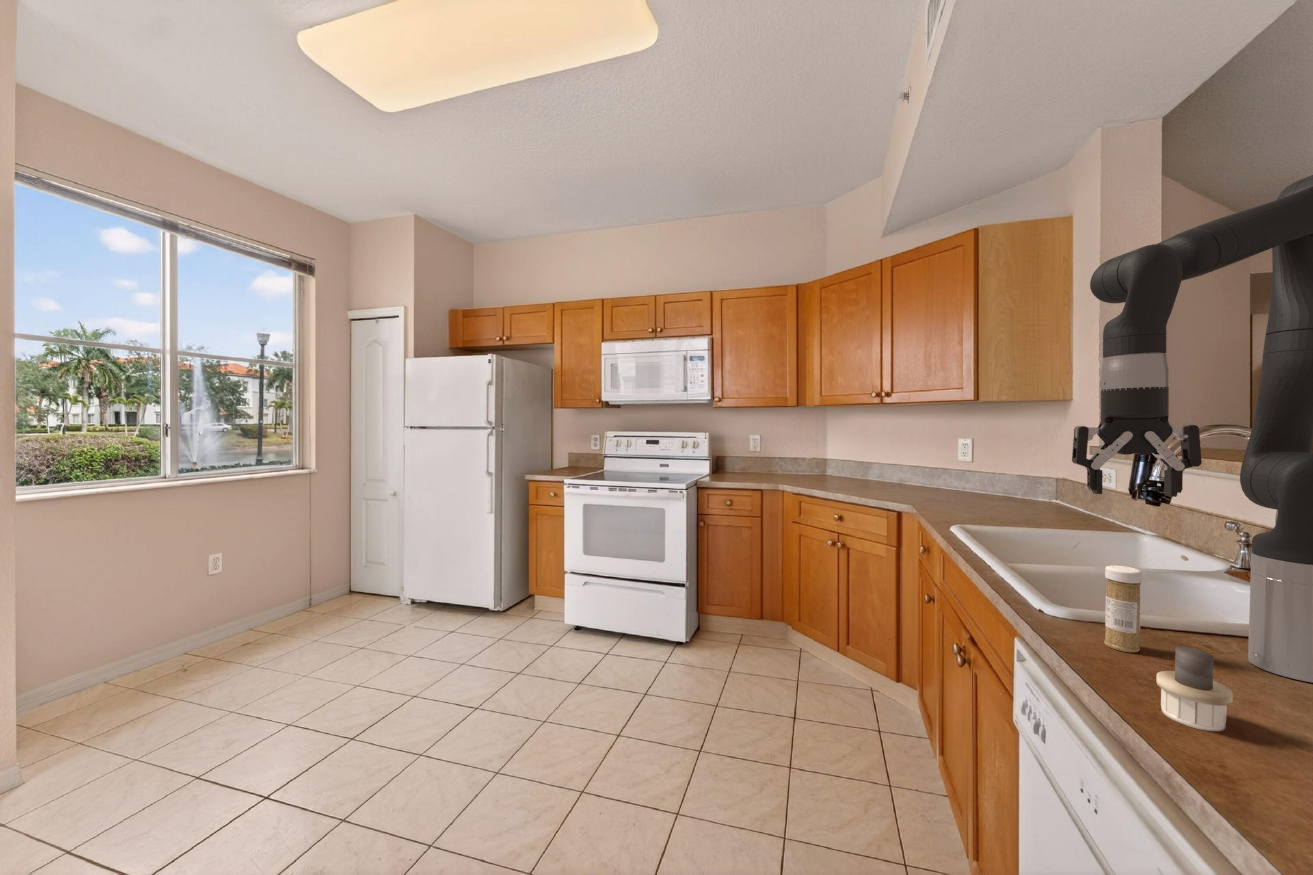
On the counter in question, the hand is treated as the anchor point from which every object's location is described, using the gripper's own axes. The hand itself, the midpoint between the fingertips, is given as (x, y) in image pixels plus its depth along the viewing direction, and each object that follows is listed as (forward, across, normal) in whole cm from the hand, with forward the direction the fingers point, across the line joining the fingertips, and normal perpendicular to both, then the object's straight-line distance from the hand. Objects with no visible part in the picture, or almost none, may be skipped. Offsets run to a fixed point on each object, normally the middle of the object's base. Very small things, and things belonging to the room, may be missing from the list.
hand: (1133, 494), depth 78 cm
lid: (+24, +2, -12) cm, 27 cm away
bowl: (+27, +2, -12) cm, 30 cm away
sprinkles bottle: (+27, +2, +11) cm, 29 cm away
